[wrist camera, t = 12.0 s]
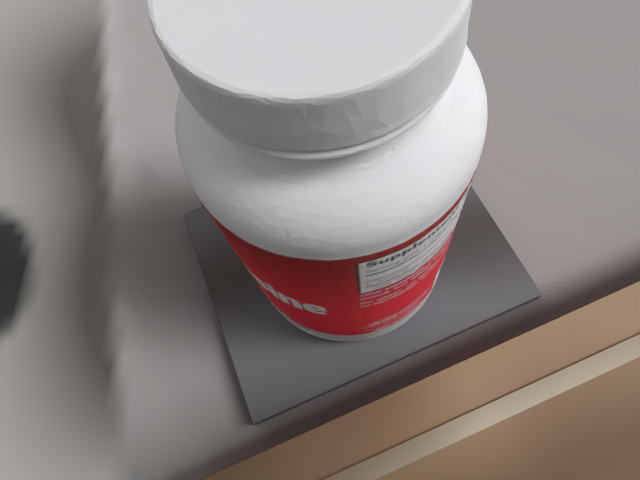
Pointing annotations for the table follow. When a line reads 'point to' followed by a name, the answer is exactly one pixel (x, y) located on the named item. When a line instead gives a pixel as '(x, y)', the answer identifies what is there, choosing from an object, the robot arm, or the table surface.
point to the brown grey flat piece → (441, 376)
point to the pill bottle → (329, 145)
